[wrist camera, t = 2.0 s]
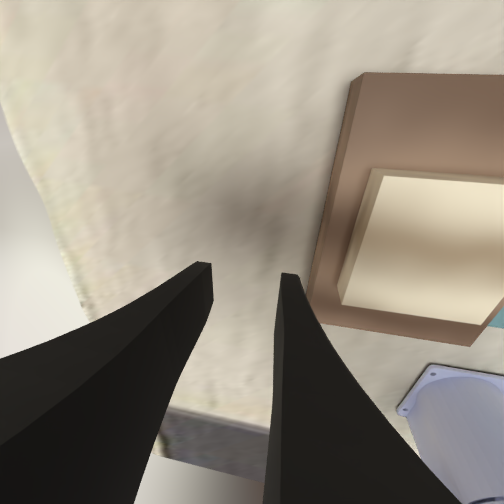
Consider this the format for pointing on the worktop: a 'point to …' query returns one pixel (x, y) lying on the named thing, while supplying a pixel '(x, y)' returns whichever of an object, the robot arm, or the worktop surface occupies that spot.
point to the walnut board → (404, 158)
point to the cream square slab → (427, 246)
